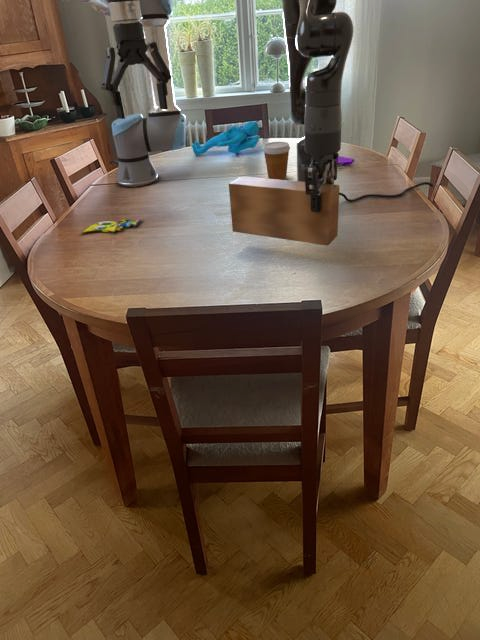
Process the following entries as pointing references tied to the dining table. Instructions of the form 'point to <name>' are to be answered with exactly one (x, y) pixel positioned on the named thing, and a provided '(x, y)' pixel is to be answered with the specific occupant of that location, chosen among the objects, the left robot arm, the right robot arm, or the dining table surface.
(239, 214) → the box
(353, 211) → the dining table surface
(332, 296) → the dining table surface
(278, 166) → the disposable coffee cup
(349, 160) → the musical instrument
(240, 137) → the toy
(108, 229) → the toy
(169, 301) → the dining table surface
